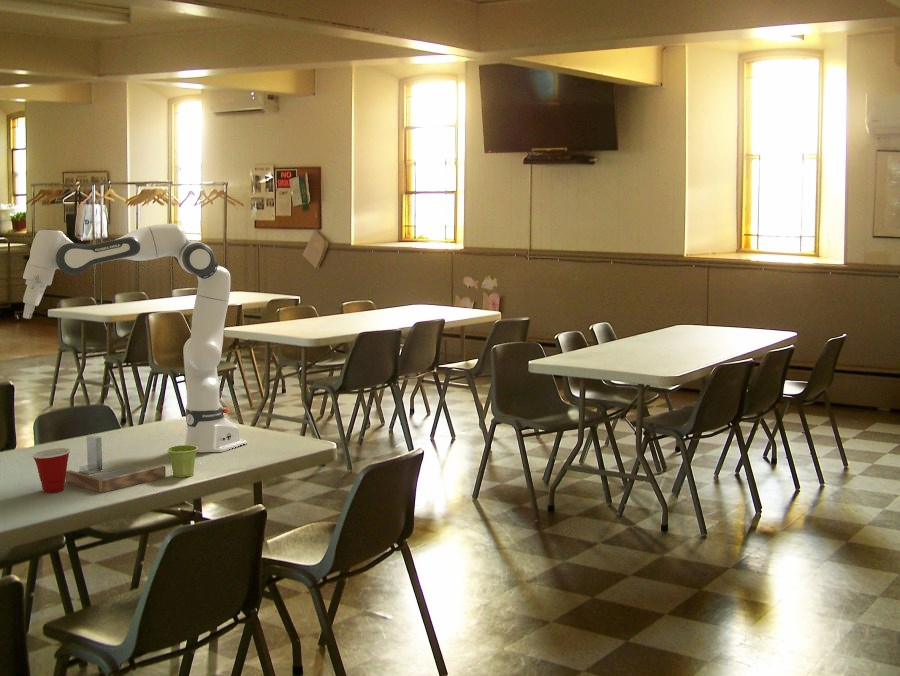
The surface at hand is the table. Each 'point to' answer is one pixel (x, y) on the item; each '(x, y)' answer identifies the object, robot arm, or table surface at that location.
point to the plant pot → (182, 460)
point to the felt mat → (115, 473)
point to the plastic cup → (52, 468)
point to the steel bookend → (93, 455)
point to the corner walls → (115, 479)
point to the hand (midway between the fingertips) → (26, 318)
